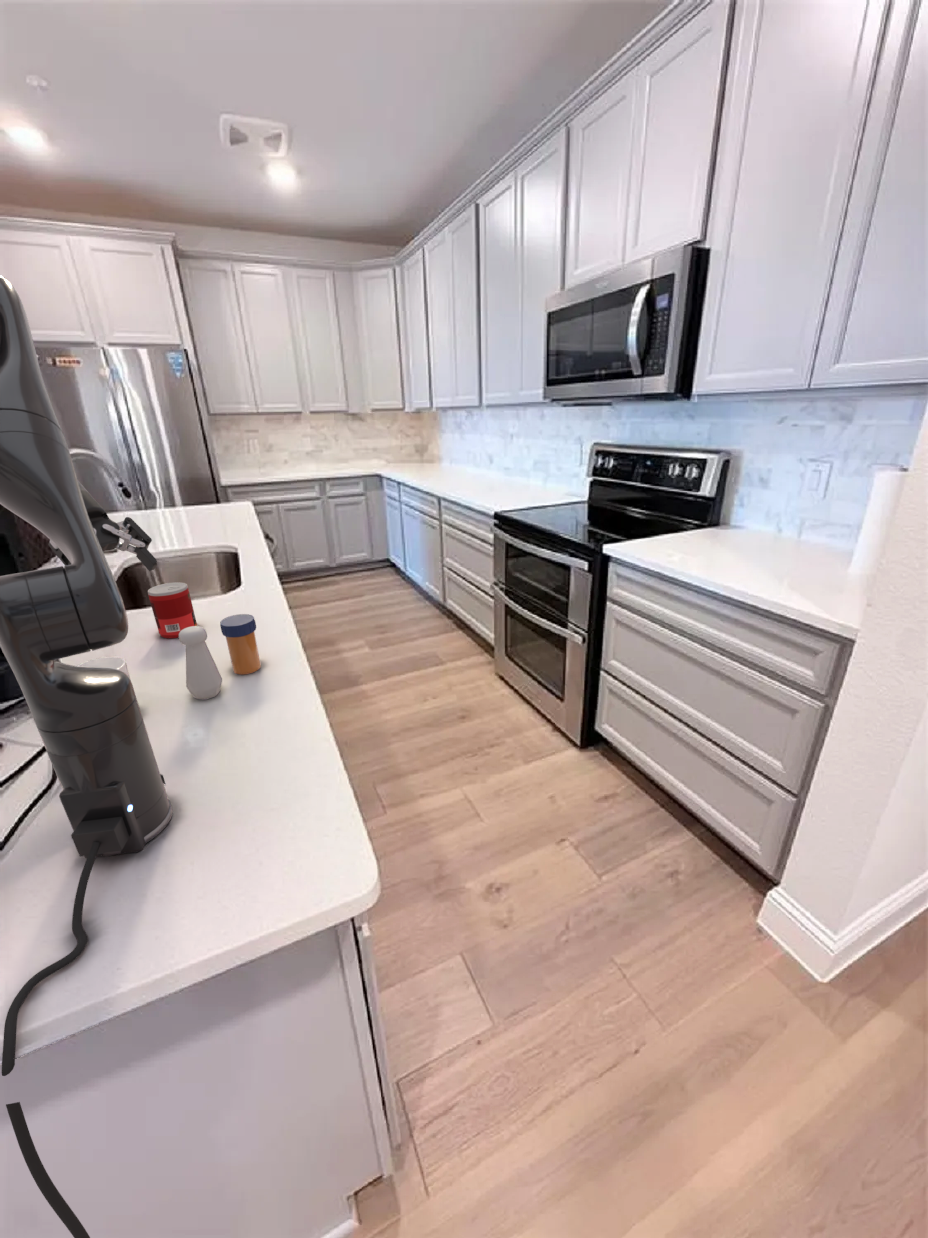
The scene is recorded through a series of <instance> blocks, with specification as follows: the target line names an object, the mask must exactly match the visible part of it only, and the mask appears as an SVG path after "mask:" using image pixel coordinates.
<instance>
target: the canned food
mask: <svg viewBox="0 0 928 1238" xmlns="http://www.w3.org/2000/svg"><path fill="white" fill-rule="evenodd" d="M190 593H191V592H190V590H189V586H188V584H187V582H186V583H185V582H179V581H176V582H175V581H174V582H166V583H161V584H158V585H154V586H152V587H150V588H149V589H148V590H147V595H148V599H149V602H150V606H151V610H152V613H153V617H154V621H155V624H156V627H157V631H158V634H159V635H160V637H162V638H164V639H179V633H180V631H181V630H183V629H184V628H187V627H191V626H198V623H197V619H196V615H195V610H194V606H193V602H192V598H191V597H192V596H191V594H190Z"/></svg>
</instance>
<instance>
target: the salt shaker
mask: <svg viewBox="0 0 928 1238" xmlns="http://www.w3.org/2000/svg"><path fill="white" fill-rule="evenodd" d="M207 639H208V632H207V630H206V628H204V627H203V626H201V625H197V626H191V627H187V628H184V629H183V630H181V631H180V633H179V638H178V640H179V643H181V645H183V646H185V687H186V688H187V690H188V692H189V693H190V694H191V695H192V697H194V699H196V700H201V701H202V700H203V701H205V700H209V699H212V698H214V697H217V696H218V694H219V693H220V692H221V688H222V684H223V677H222V676H221V675H222V674H221V673H220V671H219V669H218V667H217V664H216V662H215V660H214V657H213V656H212V654H211V651H210V649H209V647H208V644H207V642H206V641H207Z"/></svg>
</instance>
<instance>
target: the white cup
mask: <svg viewBox="0 0 928 1238" xmlns="http://www.w3.org/2000/svg"><path fill="white" fill-rule="evenodd" d="M76 666H79V667H98V668H111V669H116V670H119V671H122V672H124V673H125V674H126V675H127V676H128V677H129V678H130V679H131V677H130V673H129V669H128V665H127V661H126V659H125V658H124V657H121V656H104V657H97V658H93V659H90V660H87V661H84V662H82V663H79V664H77V665H76Z"/></svg>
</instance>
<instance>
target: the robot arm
mask: <svg viewBox="0 0 928 1238" xmlns="http://www.w3.org/2000/svg"><path fill="white" fill-rule="evenodd" d="M66 440H67V439H66V438H65V435H64V432H63V429H62V427H61V425H60V422H59V419H58V417H57V414H56V412H55V409H54V406H53V403H52V401H51V399H50V396H49V393H48V390H47V387H46V383H45V382H44V378H43V374H42V371H41V367H40V363H39V359H38V355H37V351H36V347H35V343H34V339H33V334H32V330H31V327H30V322H29V319H28V316H27V311H26V309H25V307H24V304H23V302H22V299H21V297H20V295H19V293H18V292H17V290H16V288H15V287H14V285H13V284H12V282H10V281H9V280H8V279H7V278H5V276H3V275H1V274H0V505H1V506H2V507H3V508H5V509H7V510H8V511H10V512H11V513H13V514H14V515H16V516H17V517H19V518H20V519H22V520H23V521H24V522H26V523H28V524H29V525H31V526H32V527H34V528H35V529H37V530H38V531H39V532H40V533H42V534H43V535H44V536H45V537H46V538H48V539H49V542H48V547H50V549H51V550H52V552H53V553H54V554H55V555H56V557H57V558H58V559H59V560H60V562H61V563H62V564H63V565H64V566H62V565H60V566H54V567H49V568H42V569H35V570H29V571H24V572H23V571H22V572H17V573H10V574H5V575H0V649H1V651H2V653H3V655H4V657H5V659H6V661H7V663H8V665H9V667H10V669H11V671H12V672H13V675H14V677H15V679H16V681H17V683H18V686H19V688H20V690H21V692H22V695H23V697H24V699H25V702H26V704H27V706H28V709H29V711H30V714H31V716H32V719H33V721H34V724H35V727H36V729H37V732H38V734H39V736H40V739H41V741H42V743H43V746H44V748H45V751H46V753H47V755H48V758H49V760H50V763H51V766H52V768H53V770H54V772H55V776H56V777H57V780H58V782H59V785H60V787H61V789H62V790H61V791H60V793H59V795H58V798H59V800H60V803H61V805H62V807H63V810H64V812H65V814H66V817H67V819H68V822H69V824H70V826H71V829H72V833H71V834H70V837H71V839H72V841H73V844H74V846H75V849H76V851H77V853H78V857H84V859H86V860H85V862H84V865H83V868H82V871H81V873H80V877H79V880H78V883H77V888H76V891H75V897H74V902H73V908H72V919H71V930H72V933H73V935H74V938H75V939H76V940H77V944H76V945H75V947H74V948H73V949H72V950H71V951H70V953H68V954H67V955H65V956H63V957H62V958H61V959H59V960H57V961H55V962H53V963H52V964H49V965H48V966H46V967H45V968H42V969H41V970H39V971H38V972H36V973H35V974H34V975H33V976H31V978H29V980H28V981H26V982H25V984H23V986H22V987H21V988H20V990H19V991H18V992H17V994H16V995H15V997H14V999H13V1000H12V1002H11V1004H10V1006H9V1008H8V1011H7V1013H6V1017H5V1021H4V1027H3V1042H2V1057H1V1076H2V1077H6V1076H8V1075H10V1074H11V1072H12V1071H13V1070H14V1067H15V1065H16V1049H17V1048H16V1047H17V1046H16V1045H17V1029H18V1028H17V1027H18V1026H17V1025H18V1017H19V1012H20V1010H21V1008H22V1006H23V1004H24V1002H25V1000H26V999H27V997H28V996H29V995H30V994H31V992H33V991H32V990H33V989H34V988H35V987H36V986H37V985H39V984H40V982H42V981H44V980H45V979H46V978H48V977H50V976H51V975H53V974H55V973H57V972H58V971H61V970H62V969H64V968H65V967H67V966H68V965H70V964H72V963H73V962H74V961H75V960H76V959H77V958H78V957H80V955H81V954H82V953H83V952H84V951H85V948H86V947H87V944H88V941H89V938H88V934H87V932H86V930H85V929H84V927H83V912H84V911H83V910H84V902H85V897H86V893H87V892H86V891H87V888H88V883H89V879H90V875H91V873H92V869H93V867H94V864H95V862H96V858H100V857H101V858H102V857H109V856H117V855H122V854H130V853H137V852H141V851H142V850H143V849H144V847H145V846H146V845H147V843H148V842H150V841H151V840H153V839H154V838H156V837H157V836H158V835H159V834H160V833H161V832H162V831H164V829H166V827H167V826H168V824H169V823H170V821H171V819H172V816H173V807H172V803H171V801H170V799H169V798H168V793H167V791H166V788H165V786H166V785H167V783H166V780H165V778H164V775H163V774H162V773H161V772H160V769H159V765H158V763H157V760H156V756H155V753H154V750H153V747H152V743H151V740H150V737H149V734H148V731H147V728H146V724H145V721H144V718H143V714H142V712H141V708H140V705H139V702H138V699H137V695H136V691H135V689H134V685H133V683H132V680H131V677H130V678H129V677H128V676H127V675H126V674H125V673H124V672H122V671H119V670H116V669H111V668H98V667H79V666H77V665H73V664H72V665H71V664H67V663H64V662H60V661H58V660H60V659H65V658H69V657H73V656H77V655H81V654H85V653H89V652H90V653H91V651H92V652H93V651H98V650H101V649H105V648H109V647H112V646H115V645H117V644H121V643H122V642H123V641H124V640H125V639H126V638H127V636H128V633H129V619H128V615H127V610H126V606H125V603H124V600H123V597H122V594H121V592H120V588H119V587H118V584H117V582H116V579H115V577H114V575H113V572H112V569H111V567H110V565H109V562H108V560H107V558H106V555H105V553H104V552H105V551H113V550H115V549H116V550H119V551H121V552H129V553H131V554H134V555H136V556H135V557H136V558H137V559H138V560H139V562H141V564H142V565H143V566H144V567H145V568H146V569H147V571H149V572H151V571H154V570H155V569H156V567H157V566H158V564H157V563H158V561H157V559H156V557H155V556H154V555H153V554H152V553H151V551H149V549H148V548H149V547H150V544H151V543H152V542H153V539H152V538H151V537H150V536H149V534H148V533H146V532H145V531H144V529H142V528H141V527H140V526H139V524H138V523H137V522H136V521H135V520H134V519H133V518H131V517H130V516H126V517H124V520H121V521H118V522H115V521H114V520H112V519H111V518H110V517H109V516H108V513H107V511H106V510H105V509H104V507H103V506H102V505H101V504H100V503H99V502H98V501H97V500H96V499H95V497H93V495H92V494H91V493H90V492H89V491H88V490H87V489H86V488H85V486H84V485H82V483H81V482H80V481H79V479H78V475H77V473H76V468H75V465H74V462H73V458H72V454H71V452H70V450H69V446H68V444H67V441H66ZM120 540H122V541H123V542H120ZM5 1107H6V1110H7V1113H8V1116H9V1120H10V1123H11V1126H12V1129H13V1132H14V1134H15V1138H16V1142H17V1144H18V1146H19V1149H20V1151H21V1155H22V1157H23V1159H24V1162H25V1164H26V1166H27V1168H28V1171H29V1173H30V1175H31V1177H32V1178H33V1180H34V1182H35V1184H36V1186H37V1187H38V1190H39V1191H40V1192H41V1194H42V1196H43V1198H44V1199H45V1200H46V1202H47V1203H48V1205H49V1206H50V1207H51V1209H52V1210H53V1211H54V1213H55V1214H56V1215H57V1217H58V1218H59V1219H60V1221H61V1222H62V1223H63V1225H64V1227H66V1229H67V1230H68V1231H69V1233H70V1234H71V1236H72V1237H73V1238H91V1236H90V1235H89V1233H88V1231H87V1230H86V1228H85V1227H84V1225H83V1224H82V1222H81V1221H80V1219H79V1218H78V1216H77V1215H76V1214H75V1212H74V1211H73V1210H72V1208H71V1206H70V1205H69V1204H68V1203H67V1201H66V1199H64V1197H63V1196H62V1194H61V1193H60V1191H59V1189H57V1187H56V1185H55V1184H54V1182H53V1180H52V1179H51V1177H50V1176H49V1174H48V1172H47V1170H46V1168H45V1166H44V1164H43V1162H42V1160H41V1158H40V1156H39V1154H38V1151H37V1148H36V1146H35V1143H34V1141H33V1138H32V1136H31V1133H30V1130H29V1127H28V1124H27V1120H26V1117H25V1114H24V1111H23V1107H22V1105H21V1102H20V1101H17V1102H12V1103H7V1104H5Z"/></svg>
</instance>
